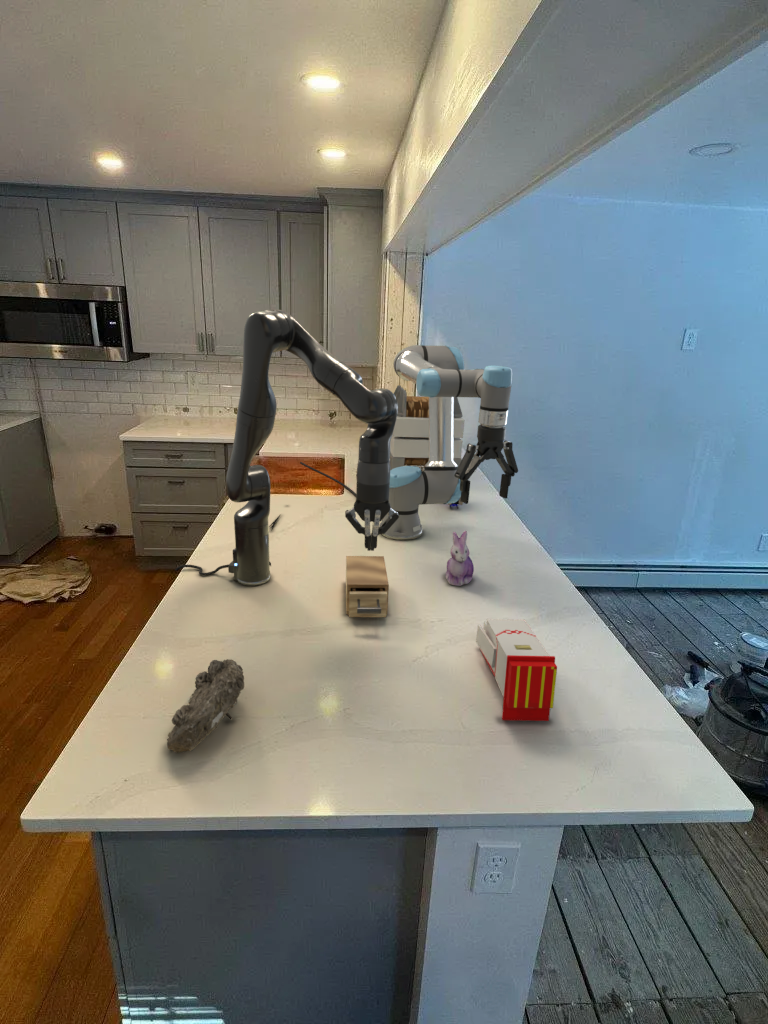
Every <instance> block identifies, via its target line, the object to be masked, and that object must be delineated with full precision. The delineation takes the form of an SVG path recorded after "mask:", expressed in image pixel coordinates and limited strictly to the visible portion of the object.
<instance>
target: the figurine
mask: <svg viewBox="0 0 768 1024" xmlns="http://www.w3.org/2000/svg"><path fill="white" fill-rule="evenodd" d="M467 539H468V531H467V530H464V531H463V532H462V533H461V535H460V537H459V535H458V534H457V532H456V531H452V546H451V548H450V558H449V559H448V560H447V562H446V572H445V580H446V581H447V583H448V584H449V585H452V586H457V587H460V586H463V585H468V584H469V583H470V582H471V581H472V580H473V576H474V572H475V567H474V563H473V560H472V559H471V557H470V553H471V551H470V549H469V546H468V545H467Z"/></svg>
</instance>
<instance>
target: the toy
mask: <svg viewBox="0 0 768 1024" xmlns="http://www.w3.org/2000/svg"><path fill="white" fill-rule="evenodd" d="M476 629H477V631H476V638H475V642H476V645H477V646H478V648H479V650H480V652H481V654H482V656H483V658H484V660H485V661H486V664H487V666H488V668H489V669H490V671H491V672H492V675H493V676H494V679H495V681H496V685H497V686H498V688H499V690H500V692H501V695H502V697H503V701H502V712H501V720H502V721H521V722H523V721H526V722H528V721H529V722H550V712H551V709H554V702H555V692H556V681H557V673H558V665H557V664H556V656H555V655H550V654H549V652H548V651H547V650H546V648H545V647H544V645H543V644H542V642H541V641H540V639H539V638H538V637H537V635H536V634H535V632H534V631H533V629H532V627H531V625H530V624H528V623H527V621H526V619H521V618H518V619H515V618H513V619H512V618H486V620H484V621H483V626H482V625H481V624H477V628H476Z"/></svg>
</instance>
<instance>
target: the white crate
mask: <svg viewBox="0 0 768 1024" xmlns="http://www.w3.org/2000/svg"><path fill="white" fill-rule="evenodd" d="M393 394H394V395H395V397H396V400H397V405H398V412H397V419H396V423H395V427H394V431H393V434H392V437H391V441H390V470H392V469H394V468H397V467H401V466H416V467H424V466H425V465H426V464H427V462H428V461H429V397H424V396H415V395H414V396H413V395H412V396H411V395H407V394H408V393H407V390H406V389H404V388H403V387H402V385H399V384H398V385H397V386H396V388H395V390H394V392H393ZM464 429H465V419H464V418H463V411H462V408H461V405H460V402H459V397H454V410H453V461H454V462H455V463H456V464H457V465H458V467H459V465H460V463H461V461H462V458H463V457H462V453H463V442H464V441H463V440H462V439H463V438H464V431H465V430H464Z"/></svg>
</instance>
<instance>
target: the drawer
mask: <svg viewBox="0 0 768 1024" xmlns="http://www.w3.org/2000/svg"><path fill="white" fill-rule="evenodd" d="M386 607H387V591H383V588H351V591H349V615H348V618H387V615H386Z"/></svg>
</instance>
